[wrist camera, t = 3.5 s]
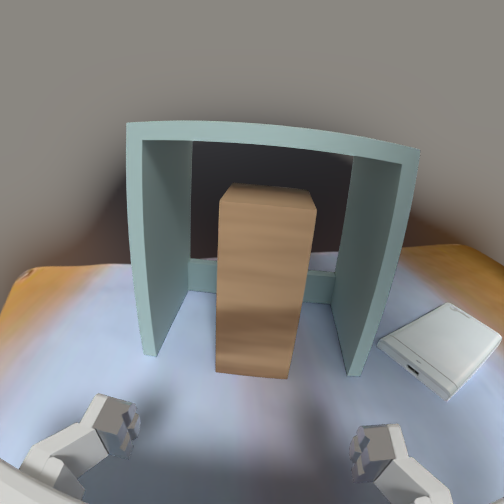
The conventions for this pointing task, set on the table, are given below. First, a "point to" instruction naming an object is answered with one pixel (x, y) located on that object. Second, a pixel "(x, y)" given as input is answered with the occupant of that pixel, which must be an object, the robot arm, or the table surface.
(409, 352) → the hard drive
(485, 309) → the table surface
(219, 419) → the table surface
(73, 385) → the table surface
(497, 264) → the table surface
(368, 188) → the tunnel
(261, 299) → the walnut block
